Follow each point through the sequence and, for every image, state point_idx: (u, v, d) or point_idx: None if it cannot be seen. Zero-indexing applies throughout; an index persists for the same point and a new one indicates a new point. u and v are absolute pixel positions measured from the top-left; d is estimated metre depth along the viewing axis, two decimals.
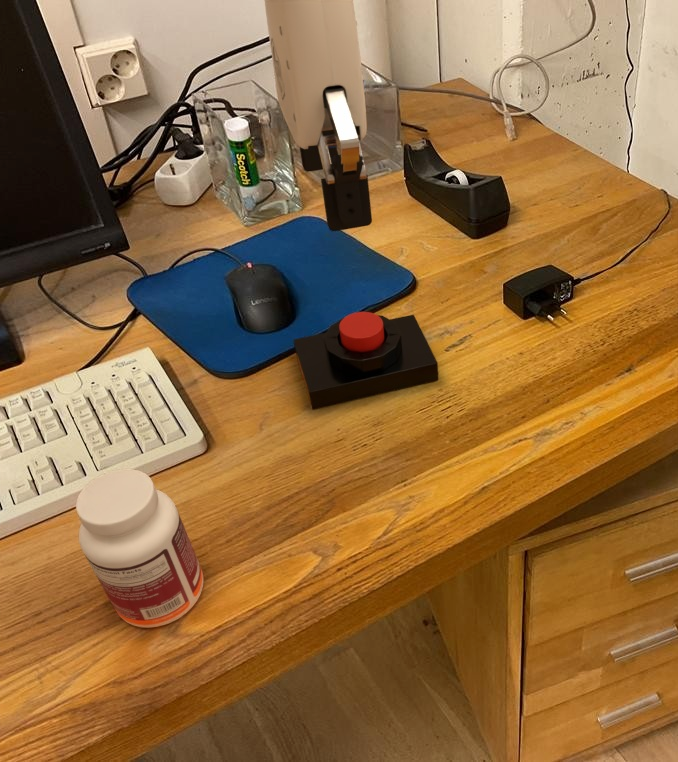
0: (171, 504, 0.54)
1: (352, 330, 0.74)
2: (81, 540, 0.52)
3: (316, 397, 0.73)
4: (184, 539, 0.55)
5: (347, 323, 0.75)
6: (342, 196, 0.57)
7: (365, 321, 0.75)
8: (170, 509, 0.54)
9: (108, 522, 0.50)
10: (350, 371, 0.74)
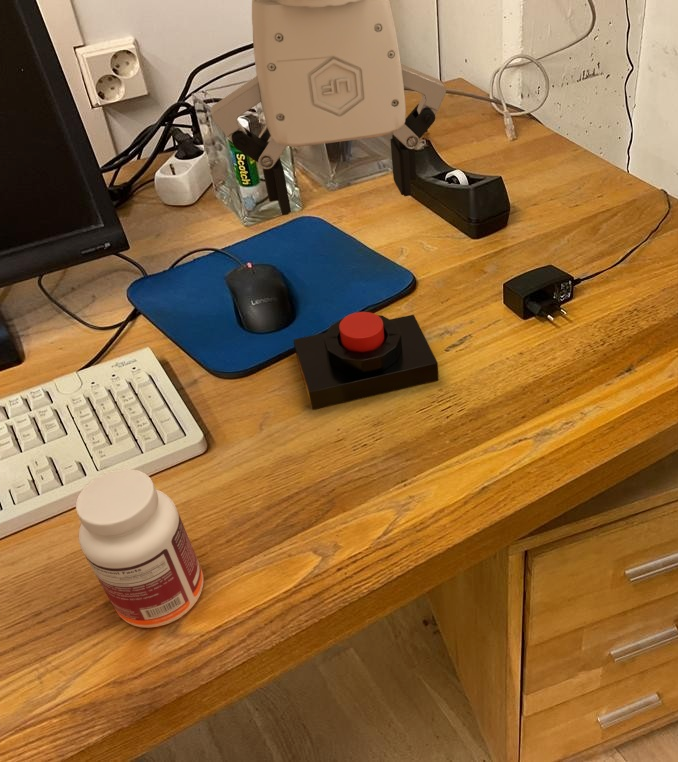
0: (171, 504, 0.54)
1: (352, 330, 0.74)
2: (81, 540, 0.52)
3: (316, 397, 0.73)
4: (184, 539, 0.55)
5: (347, 323, 0.75)
6: None
7: (365, 321, 0.75)
8: (170, 510, 0.54)
9: (108, 523, 0.50)
10: (350, 371, 0.74)
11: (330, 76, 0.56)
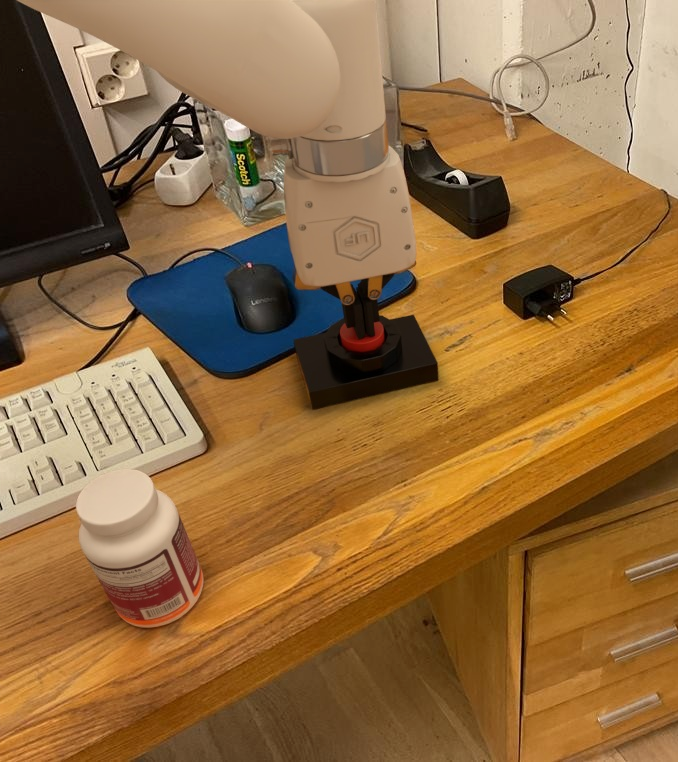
0: (171, 504, 0.54)
1: (352, 335, 0.74)
2: (81, 540, 0.52)
3: (316, 397, 0.73)
4: (184, 539, 0.55)
5: (348, 328, 0.75)
6: None
7: None
8: (170, 510, 0.54)
9: (108, 523, 0.50)
10: (350, 371, 0.74)
11: (352, 231, 0.65)
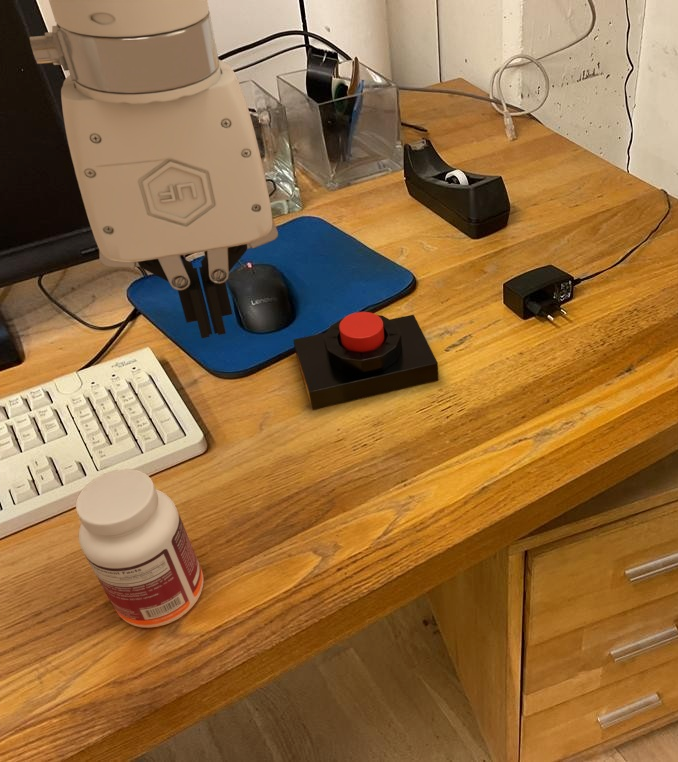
0: (171, 504, 0.54)
1: (352, 330, 0.74)
2: (81, 540, 0.52)
3: (316, 397, 0.73)
4: (184, 539, 0.55)
5: (347, 323, 0.75)
6: (226, 287, 0.54)
7: (365, 321, 0.75)
8: (170, 510, 0.54)
9: (108, 523, 0.50)
10: (350, 371, 0.74)
11: (168, 181, 0.46)
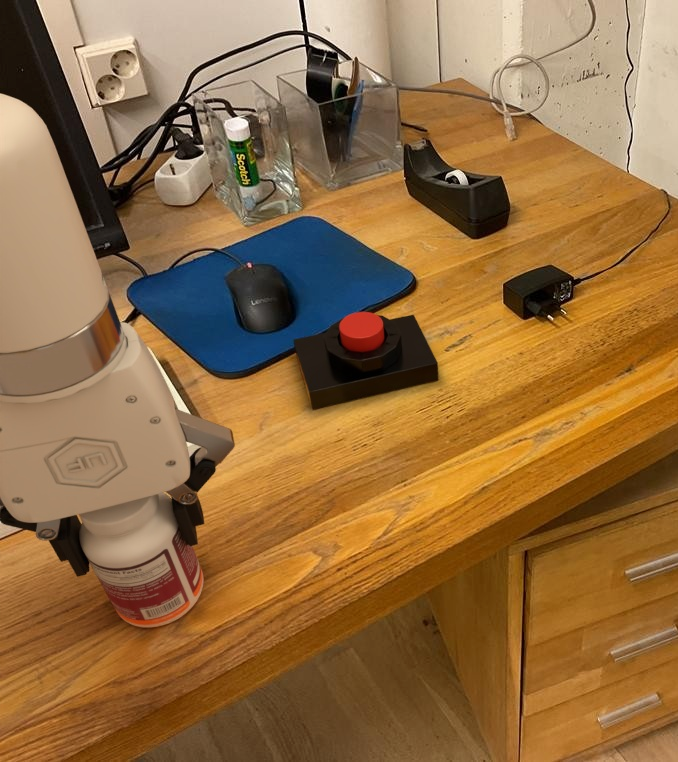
0: (171, 504, 0.54)
1: (352, 330, 0.74)
2: (81, 540, 0.52)
3: (316, 397, 0.73)
4: None
5: (347, 323, 0.75)
6: (196, 502, 0.54)
7: (365, 321, 0.75)
8: (171, 509, 0.54)
9: (109, 522, 0.50)
10: (350, 371, 0.74)
11: (76, 454, 0.45)
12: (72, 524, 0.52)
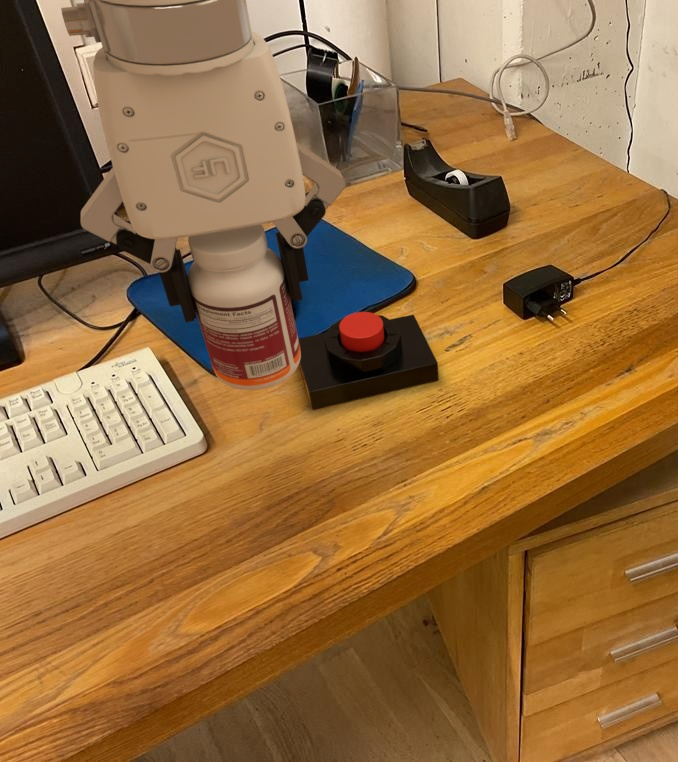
0: (277, 256, 0.54)
1: (352, 330, 0.74)
2: (191, 281, 0.52)
3: (316, 397, 0.73)
4: (288, 295, 0.55)
5: (347, 323, 0.75)
6: None
7: (365, 321, 0.75)
8: (277, 259, 0.53)
9: (223, 252, 0.49)
10: (350, 371, 0.74)
11: (201, 156, 0.45)
12: (182, 265, 0.51)
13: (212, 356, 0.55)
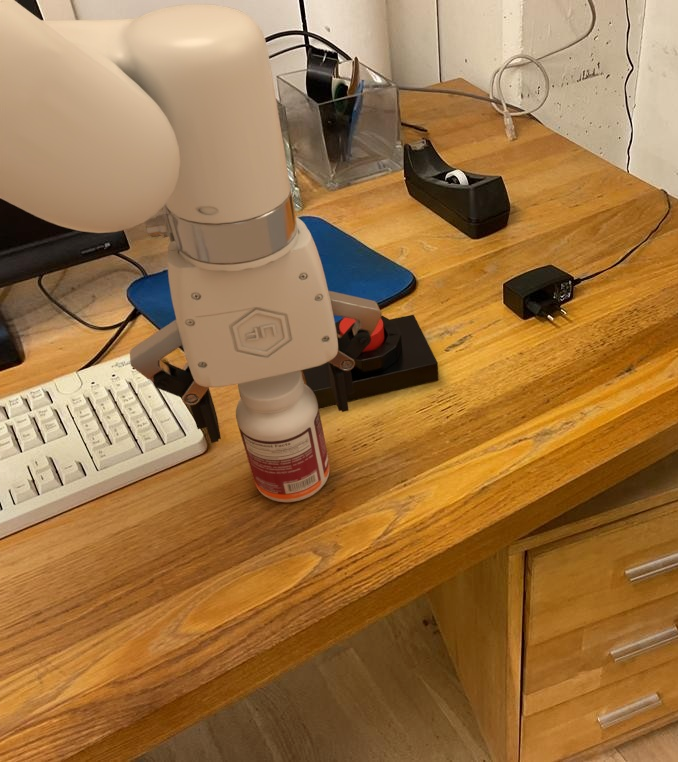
0: (311, 391, 0.63)
1: None
2: (240, 418, 0.61)
3: (316, 397, 0.73)
4: (320, 423, 0.64)
5: (347, 323, 0.75)
6: None
7: None
8: (312, 395, 0.62)
9: (268, 398, 0.58)
10: None
11: (254, 324, 0.53)
12: (209, 394, 0.59)
13: (255, 475, 0.64)
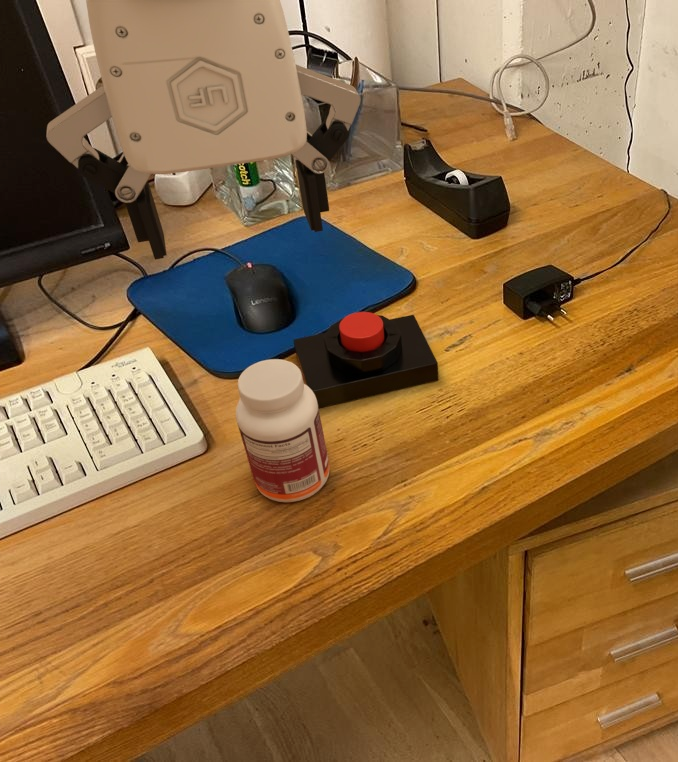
0: (311, 391, 0.63)
1: (352, 330, 0.74)
2: (239, 418, 0.61)
3: (316, 397, 0.73)
4: (320, 423, 0.64)
5: (347, 323, 0.75)
6: (324, 180, 0.51)
7: (365, 321, 0.75)
8: (312, 395, 0.62)
9: (268, 398, 0.58)
10: (350, 371, 0.74)
11: (198, 83, 0.43)
12: (150, 197, 0.48)
13: (255, 475, 0.64)
